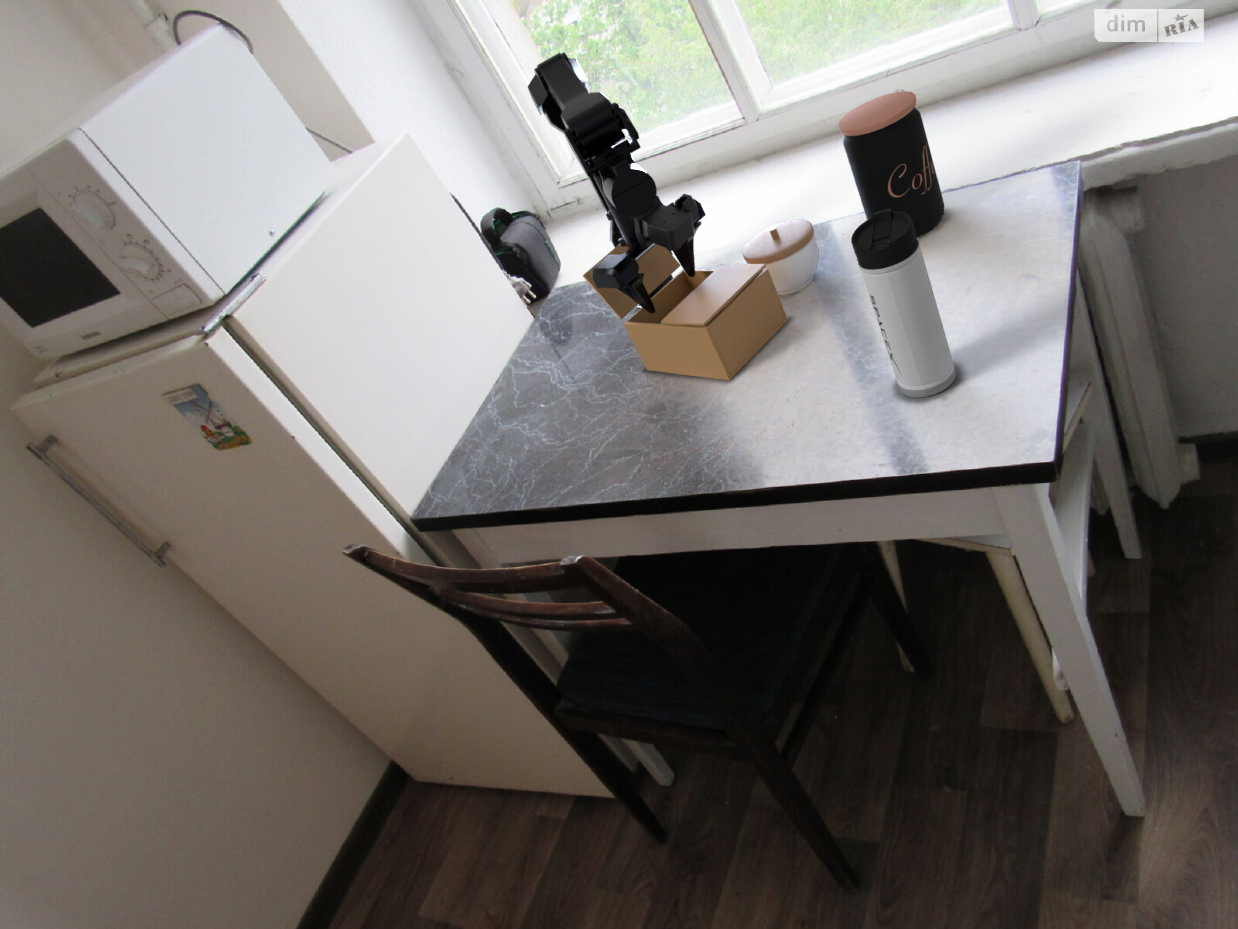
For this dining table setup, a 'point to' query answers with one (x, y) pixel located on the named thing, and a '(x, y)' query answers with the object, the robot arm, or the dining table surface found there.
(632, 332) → the carton
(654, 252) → the flap
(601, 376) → the dining table surface
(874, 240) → the travel mug
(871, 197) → the coffee jar
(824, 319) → the dining table surface
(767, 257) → the trinket box
